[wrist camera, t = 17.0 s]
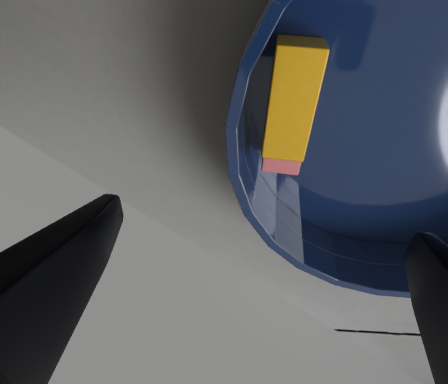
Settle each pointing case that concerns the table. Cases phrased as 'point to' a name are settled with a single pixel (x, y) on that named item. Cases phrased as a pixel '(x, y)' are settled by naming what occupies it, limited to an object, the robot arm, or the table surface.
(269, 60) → the bowl
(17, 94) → the table surface
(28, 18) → the table surface
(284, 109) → the pencil
